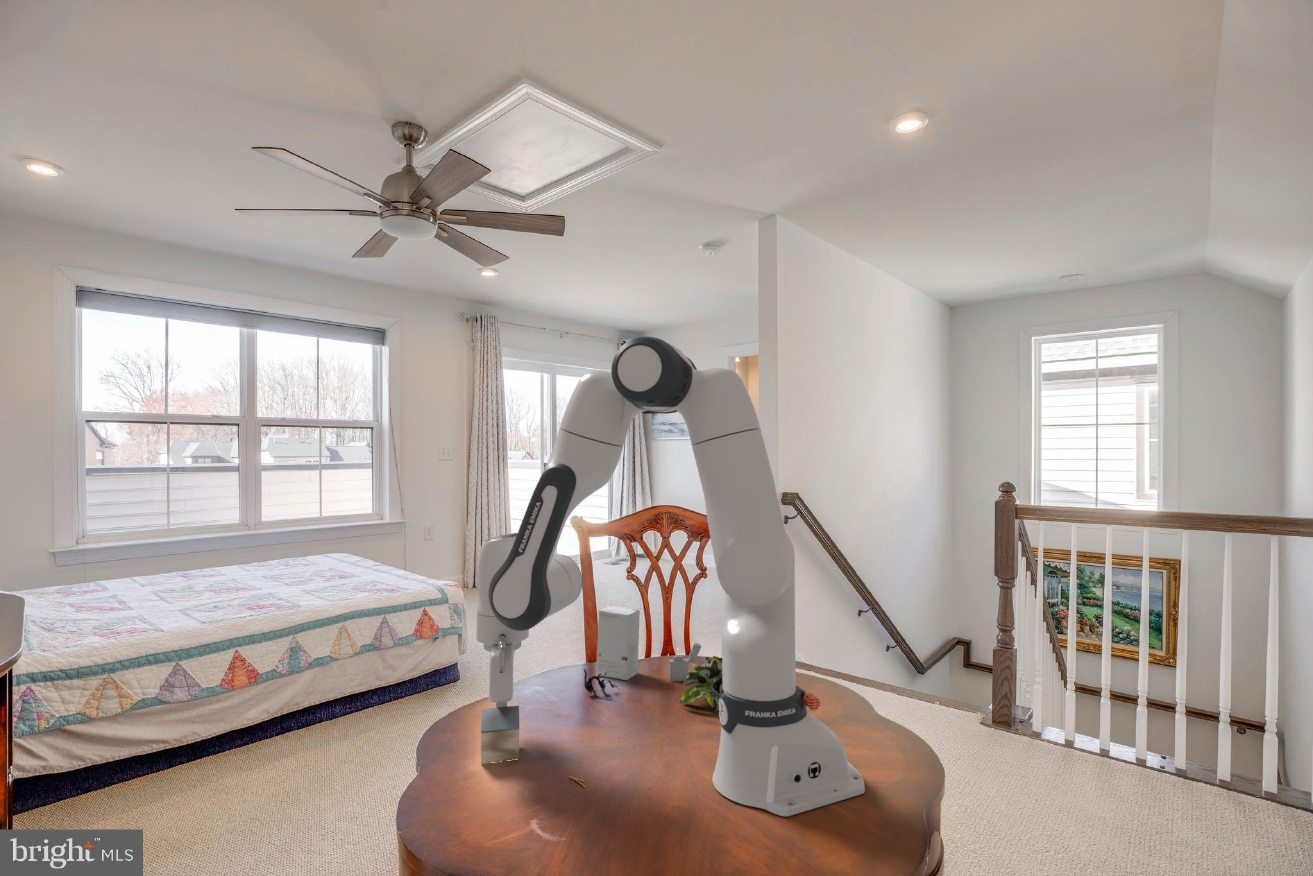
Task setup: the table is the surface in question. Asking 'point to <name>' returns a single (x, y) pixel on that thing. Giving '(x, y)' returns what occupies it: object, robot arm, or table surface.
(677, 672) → the lighter
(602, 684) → the creature
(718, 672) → the green leafy plant
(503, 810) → the table surface
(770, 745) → the robot arm
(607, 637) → the skincare box
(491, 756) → the maple cube
